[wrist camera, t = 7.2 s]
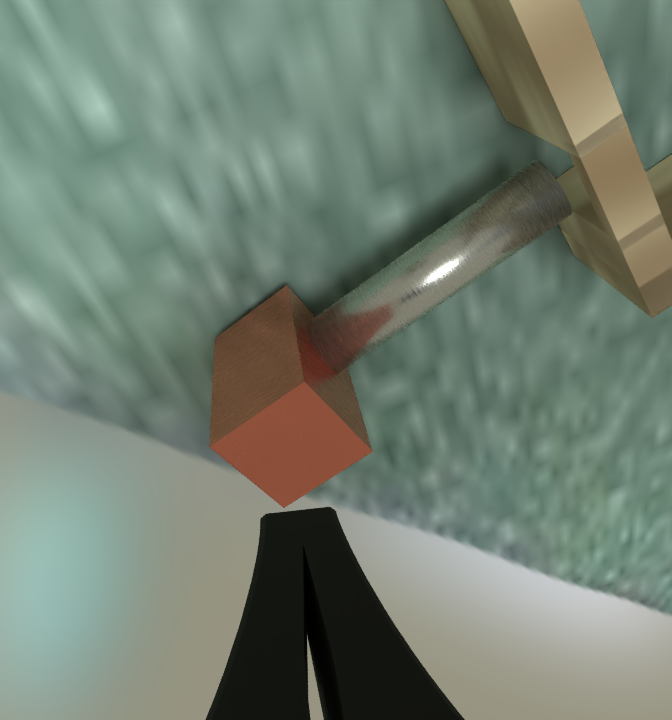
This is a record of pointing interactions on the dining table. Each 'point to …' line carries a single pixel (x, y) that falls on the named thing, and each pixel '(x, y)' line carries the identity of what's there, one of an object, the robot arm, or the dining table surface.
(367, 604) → the robot arm
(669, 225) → the dock
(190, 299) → the dining table surface
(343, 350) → the lock pin
